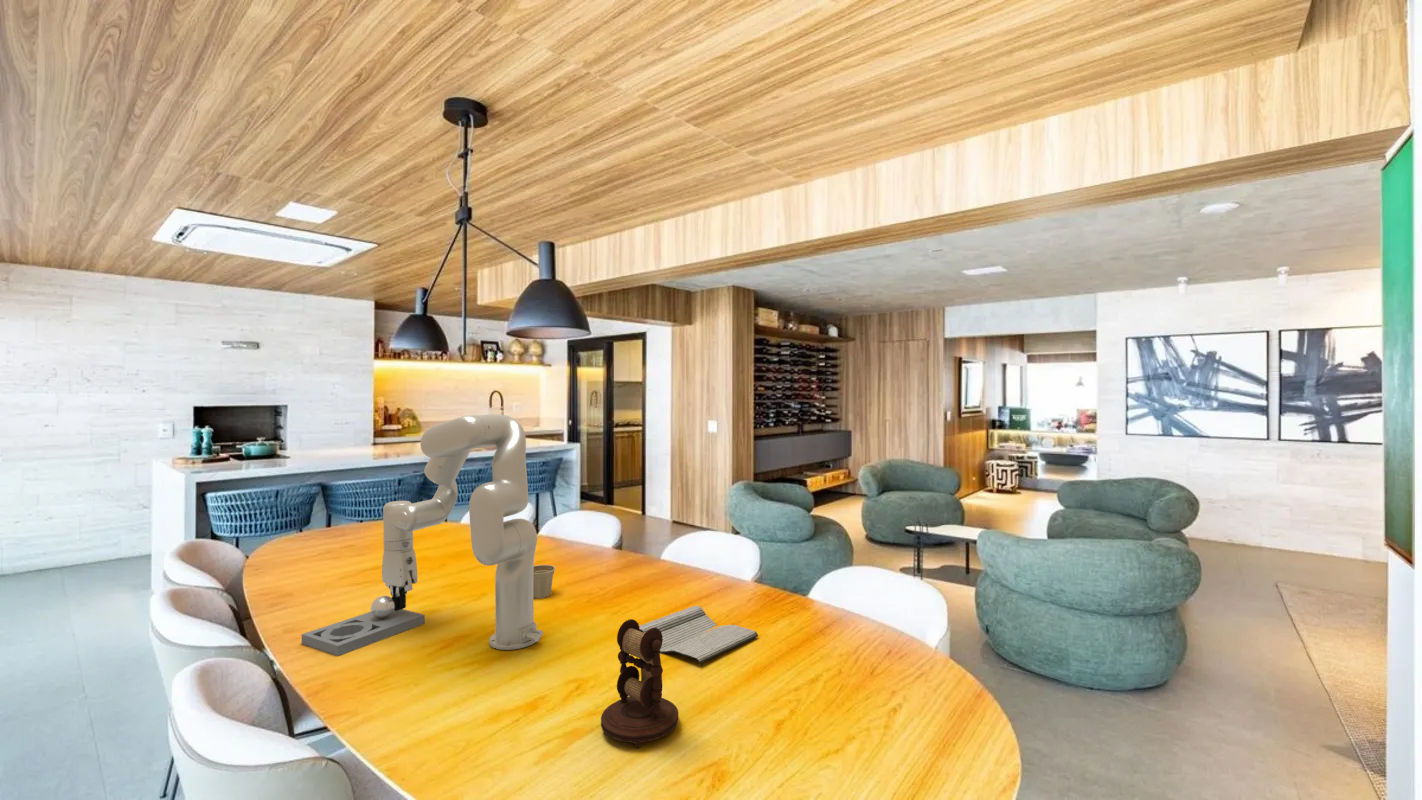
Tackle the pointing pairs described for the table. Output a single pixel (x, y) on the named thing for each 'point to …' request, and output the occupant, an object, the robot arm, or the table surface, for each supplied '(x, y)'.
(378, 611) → the steel ball
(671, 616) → the mat
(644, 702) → the thread spool stand
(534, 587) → the flower pot
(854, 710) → the table surface
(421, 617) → the hole board
